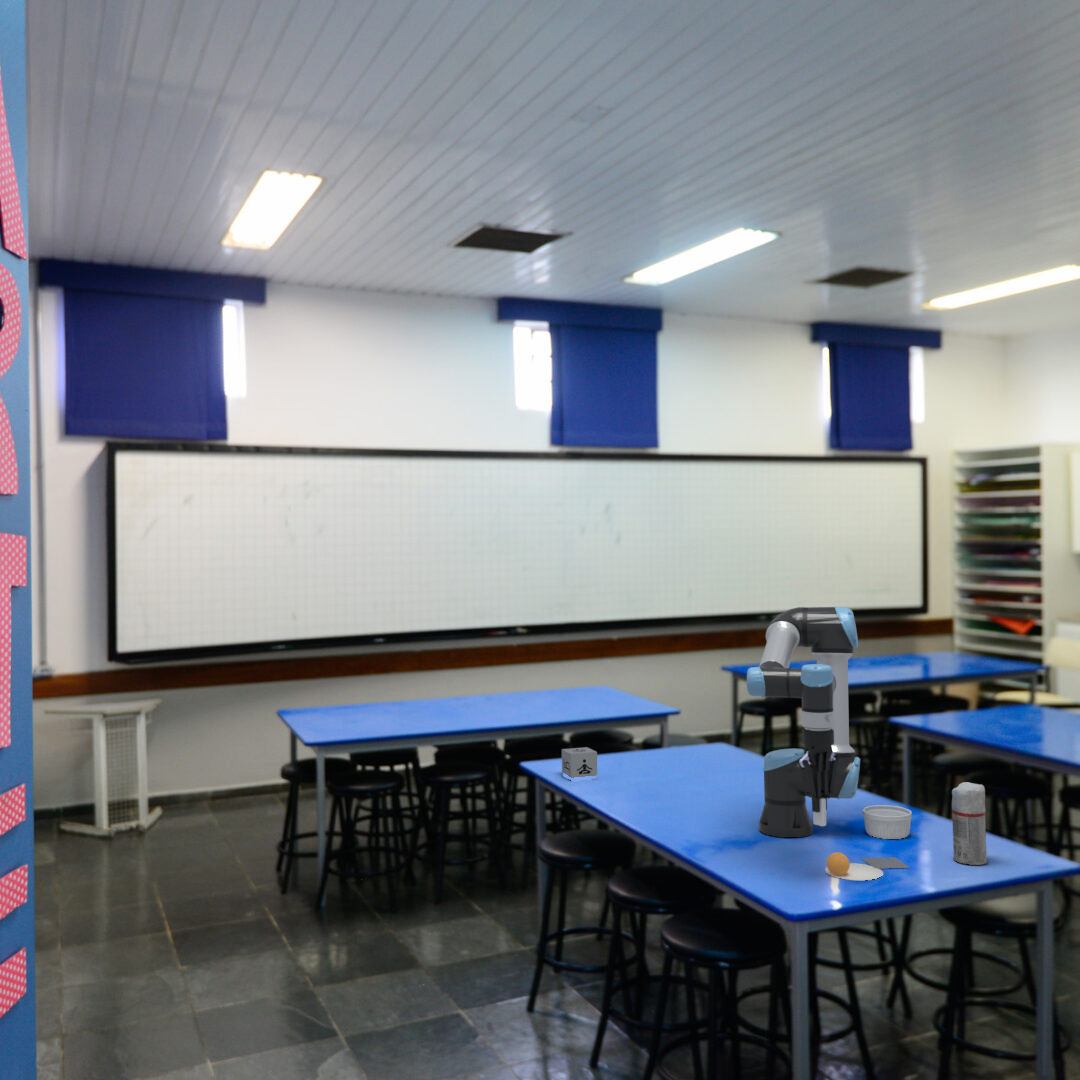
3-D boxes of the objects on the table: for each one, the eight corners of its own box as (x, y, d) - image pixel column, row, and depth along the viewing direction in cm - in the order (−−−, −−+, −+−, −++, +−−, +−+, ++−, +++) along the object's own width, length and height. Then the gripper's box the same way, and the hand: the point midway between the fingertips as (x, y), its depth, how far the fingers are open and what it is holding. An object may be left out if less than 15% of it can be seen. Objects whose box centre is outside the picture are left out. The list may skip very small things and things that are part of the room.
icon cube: (562, 776, 372) (561, 749, 373) (587, 774, 375) (587, 747, 376) (571, 782, 363) (571, 754, 363) (597, 779, 366) (597, 751, 366)
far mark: (861, 859, 265) (861, 858, 265) (895, 857, 266) (895, 857, 266) (874, 869, 256) (874, 868, 256) (909, 868, 257) (909, 867, 257)
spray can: (988, 867, 256) (986, 788, 257) (953, 864, 259) (951, 786, 260) (986, 858, 264) (985, 781, 264) (952, 855, 267) (951, 779, 267)
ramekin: (880, 843, 280) (880, 818, 280) (853, 831, 293) (853, 807, 293) (922, 839, 284) (921, 814, 284) (893, 827, 296) (893, 803, 296)
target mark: (830, 861, 264) (830, 860, 264) (887, 867, 258) (887, 866, 258) (819, 876, 251) (819, 875, 251) (878, 883, 245) (878, 882, 245)
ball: (818, 860, 253) (829, 872, 256) (832, 871, 248) (843, 883, 251) (832, 844, 254) (843, 856, 256) (846, 854, 249) (858, 866, 251)
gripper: (811, 733, 242) (813, 832, 242) (848, 727, 249) (850, 823, 249) (787, 728, 248) (789, 825, 248) (824, 723, 255) (826, 817, 255)
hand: (819, 824), depth 248 cm, fingers closed
